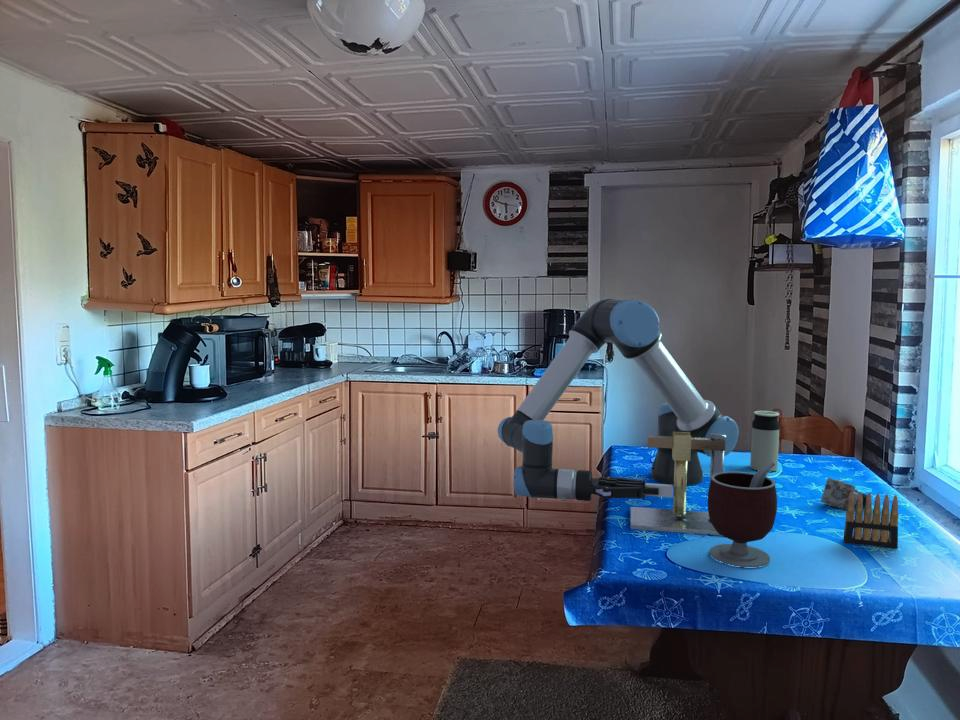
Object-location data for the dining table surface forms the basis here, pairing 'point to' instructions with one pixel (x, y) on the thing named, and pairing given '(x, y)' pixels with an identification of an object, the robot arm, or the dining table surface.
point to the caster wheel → (840, 494)
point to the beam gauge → (692, 519)
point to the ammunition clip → (871, 522)
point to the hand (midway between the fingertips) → (672, 491)
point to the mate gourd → (742, 514)
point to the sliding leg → (680, 470)
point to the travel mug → (764, 440)
